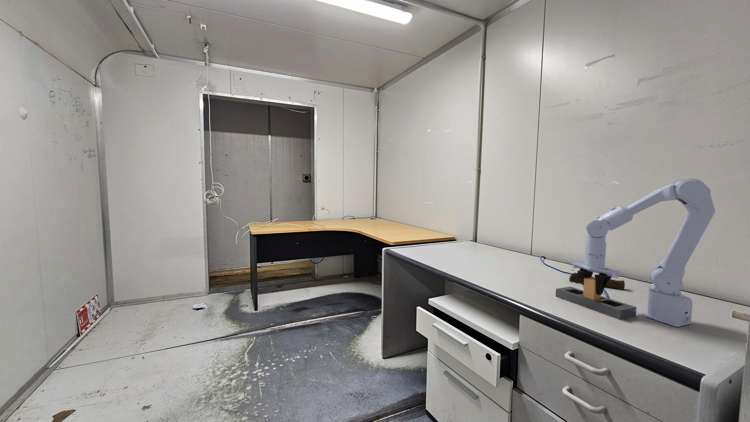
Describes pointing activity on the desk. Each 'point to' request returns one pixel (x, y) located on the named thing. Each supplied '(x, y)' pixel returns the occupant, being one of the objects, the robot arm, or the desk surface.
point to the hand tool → (577, 279)
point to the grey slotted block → (597, 303)
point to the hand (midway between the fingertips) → (592, 292)
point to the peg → (590, 289)
